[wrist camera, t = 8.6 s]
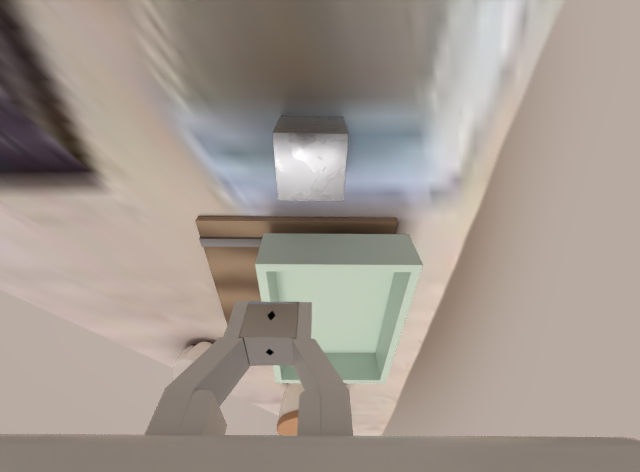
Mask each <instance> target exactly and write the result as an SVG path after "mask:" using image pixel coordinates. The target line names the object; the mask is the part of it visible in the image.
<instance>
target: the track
mask: <svg viewBox="0 0 640 472" xmlns="http://www.w3.org/2000/svg"><path fill="white" fill-rule="evenodd" d="M195 221H196V224H197V228H198V231H199V234H200V242H201V246H202V247H204V250H205V253H206V257H207V260H208V263H209V266H210V270H211V273H212V276H213V279H214V283H215V286H216V289H217V292H218V296H219V299H220V302H221V305H222V308H223V312H224V315H225V318H226V321H227V325H228V322H229V319H230V316H231V313H232V310H233V307H234V304H235V303H236V301H260V302H261V296H260V290H259V284H258V279H257V273H256V267H255V262H256V259H257V255H258V252H259V248H260V245H261V241H262V238H263V235H264V233H286V234H396V229H397V225H398V221H397V219H396V218H345V217H217V216H198V218H197V219H196V220H195Z"/></svg>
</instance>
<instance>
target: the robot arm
mask: <svg viewBox="0 0 640 472" xmlns="http://www.w3.org/2000/svg"><path fill="white" fill-rule="evenodd" d="M311 330H312V302H260V301H236V303H235V304H234V307H233V310H232V313H231V316H230V319H229V322H228V326H227V329H226V332H225V335H224V338H219V339H218V340H217V341H216V342H215V343H213V344H212V345H211V346H210V347H209V348H208V349H207V350H206V351H205V352H204V353H203V354H202V355H201V356H199V357H198V358H197V359H196V360H195V361H194V362H193V363H192V364H191V365H190V366H189V367H188V368H187V369H186V370H184V371H183V372H182V373H181V374H180V375H179V376H178V377H177V378H176V379H175V380H174V381H173V382H172V383H171V384H170V385H169V386H167V387H166V388H165V390H164V392H163V395H162V397H161V399H160V401H159V403H158V406H157V408H156V410H155V412H154V415H153V417H152V419H151V421H150V424H149V426H148V428H147V430H146V433H145V435H89V434H88V435H85V434H83V435H82V434H81V435H80V434H75V435H74V434H0V472H640V440H638V439H635V438H627V437H509V436H508V437H504V436H501V437H500V436H353V429H352V418H351V407H350V395H349V390H348V388H347V387H346V385H345V384H344V382H343V381H342V379H341V378H340V376H339V375H338V373H337V371H336V370H335V368H334V367H333V365H332V364H331V362H330V361H329V359H328V358H327V356H326V355H325V353H324V352H323V350H322V349H321V347H320V346H319V344H318V343H317V341H316V340H315V339H311ZM255 365H279V366H293V367H294V369H295V372H296V374H297V376H298V378H299V380H300V382H301V384H302V386H303V388H304V390H305V391H303V392H302V393H301V394H300V397H299V412H298V427H297V435H225V431H226V427H227V424H226V422H225V419H224V417H223V415H222V412H221V410H220V408H219V407H220V405H221V404H222V403H223V401H224V400H225V399H226V397H227V396H228V395H229V393H230V392H231V391H232V389H233V388H234V387H235V386H236V384H237V383H238V382H239V380H240V379H241V378H242V376H243V375H244V374H245V372H246V371H247V370H248V368H249V366H255Z"/></svg>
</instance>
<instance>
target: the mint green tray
mask: <svg viewBox="0 0 640 472" xmlns="http://www.w3.org/2000/svg"><path fill="white" fill-rule="evenodd" d="M255 267H256V273H257V279H258V284H259V290H260V296H261V302H312V330H311V339H315V340H316V341H317V343H318V344H319V346H320V347H321V349H322V350H323V352H324V353H325V355H326V356H327V358H328V359H329V361H330V362H331V364H332V365H333V367H334V368H335V370H336V371H337V373H338V375H339V376H340V378H341V379H342V381H343V382H344V383H386V381H387V378H388V374H389V371H390V368H391V365H392V362H393V359H394V355H395V352H396V349H397V346H398V343H399V340H400V336H401V333H402V330H403V327H404V324H405V321H406V317H407V314H408V311H409V308H410V305H411V302H412V299H413V295H414V292H415V289H416V286H417V283H418V280H419V276H420V273H421V270H422V267H423V264H422V262H421V260H420V257H419V255H418V253H417V251H416V249H415V247H414V245H413V243H412V241H411V238H410V236H409V234H286V233H264V235H263V238H262V241H261V245H260V248H259V252H258V255H257V259H256V262H255ZM273 371H274V376H275V382H276V383H301V382H300V380H299V378H298V376H297V374H296V372H295V369H294V367H293V366H279V365H273Z"/></svg>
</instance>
